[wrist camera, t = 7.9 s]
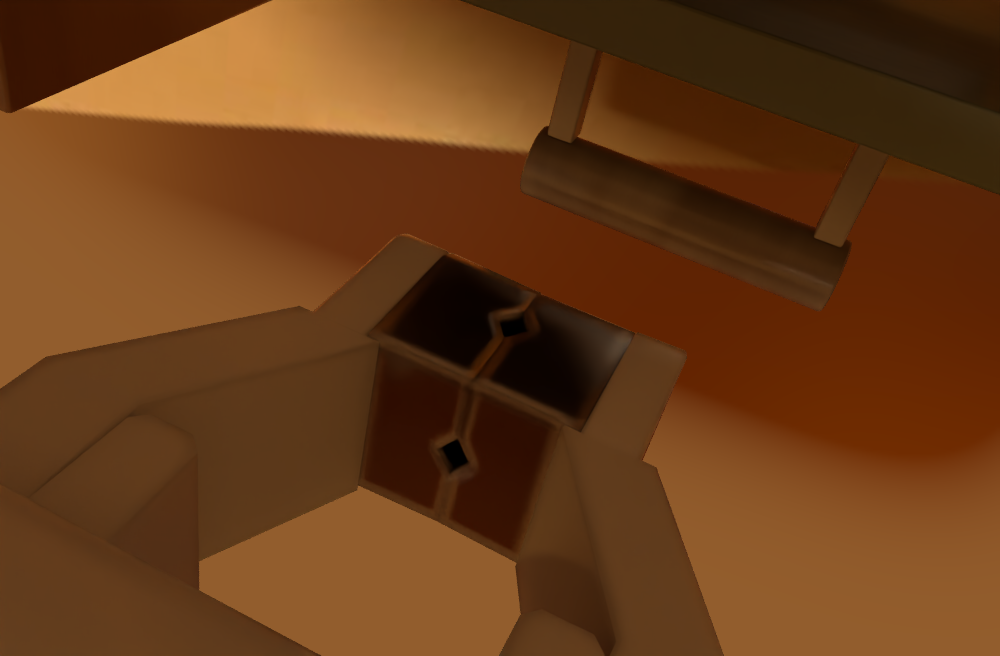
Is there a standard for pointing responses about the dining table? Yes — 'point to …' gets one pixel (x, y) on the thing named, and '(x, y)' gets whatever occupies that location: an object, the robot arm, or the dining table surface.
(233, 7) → the stand
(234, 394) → the robot arm
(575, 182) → the drawer
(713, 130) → the dining table surface
